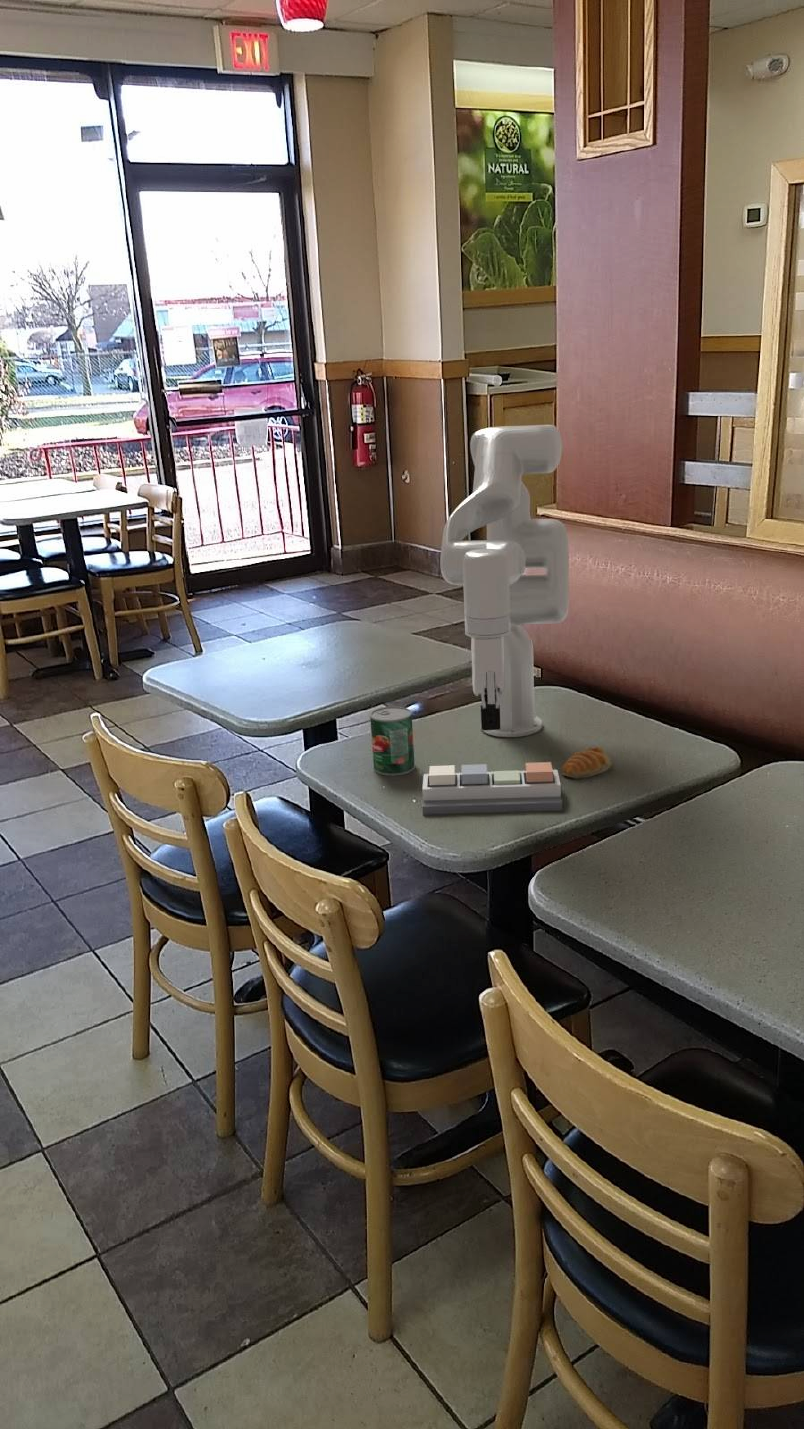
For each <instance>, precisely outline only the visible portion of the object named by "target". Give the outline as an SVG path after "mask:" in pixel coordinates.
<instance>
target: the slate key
mask: <svg viewBox="0 0 804 1429" xmlns="http://www.w3.org/2000/svg"><path fill="white" fill-rule="evenodd" d="M487 766H488V764H485V763H480V764H478V763H477V764H461V773H462V784H485V783H487V772H488V767H487Z"/></svg>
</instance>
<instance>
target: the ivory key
mask: <svg viewBox="0 0 804 1429" xmlns="http://www.w3.org/2000/svg"><path fill="white" fill-rule="evenodd" d="M455 773H456V765H451V764H450V765H430V766H429V772H428V774H429V785H453V784H455Z"/></svg>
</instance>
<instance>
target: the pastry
mask: <svg viewBox="0 0 804 1429" xmlns="http://www.w3.org/2000/svg"><path fill="white" fill-rule="evenodd" d="M611 767H612V763H611V761H610V758H609V756H608V755H607V754H606V751H605V750H603V748H601V747H597V746H596V747H588V748H587V749H585V750H580V751H577V752H575V753H573V754H572V756H570V757H569V758H568V760H566V761H565V762H564V763H563V765H562V766H561V771H562V772H561V773H562V774H561V775H562V776H566V777H568V778H572V779H577V780H578V778H579V779H581V778H589V777H590V778H591V777H594V776H596V775H599V774H602V773H605V772H607V771H608V770H609V769H610V768H611Z"/></svg>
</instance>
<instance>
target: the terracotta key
mask: <svg viewBox="0 0 804 1429" xmlns="http://www.w3.org/2000/svg"><path fill="white" fill-rule="evenodd" d="M553 770H554V769H553V765H552V761H545V762H541V761H540V762H525V771H526V777H527V782H548V781H553Z"/></svg>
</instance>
